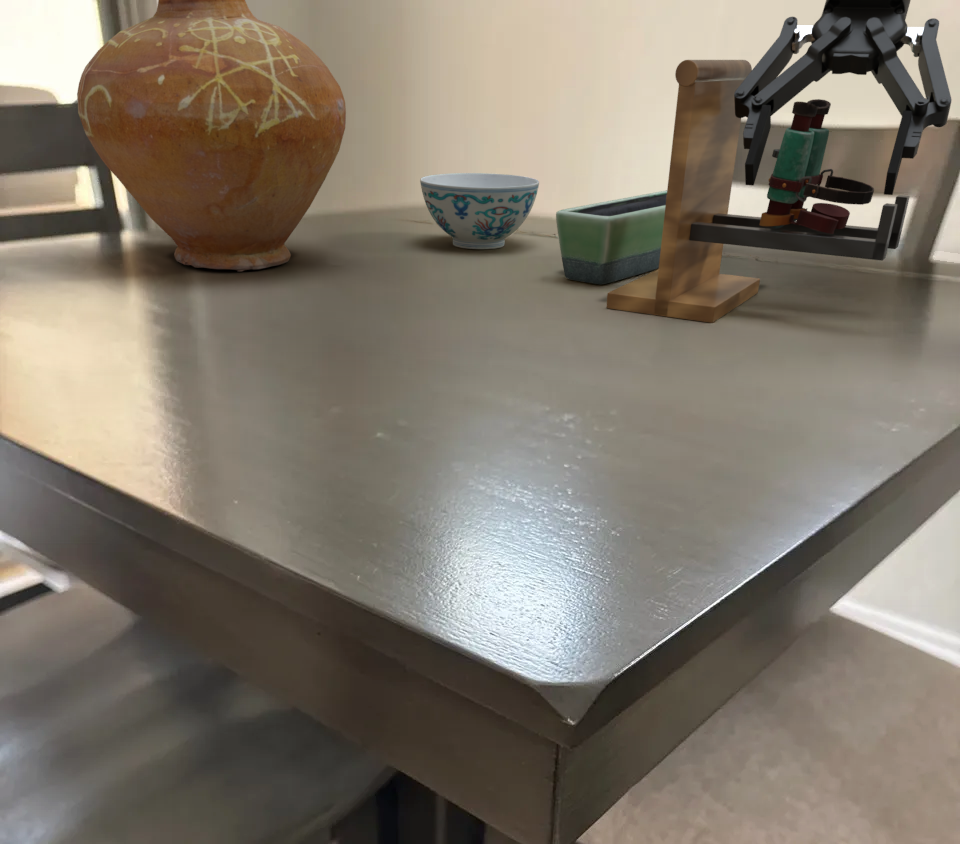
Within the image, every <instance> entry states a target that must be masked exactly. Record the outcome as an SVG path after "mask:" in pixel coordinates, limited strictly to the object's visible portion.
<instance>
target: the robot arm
mask: <svg viewBox="0 0 960 844" xmlns="http://www.w3.org/2000/svg"><path fill="white" fill-rule="evenodd" d="M910 4H911V0H825V3H824V6H823V10H822V13H821V15H820V17H819V18H818V20H817V21H815V23H814V24H811V25H810V24H798V18H797V17H795V16H789V17H787V18H785V20H784V21H783V24H782V28H781V31H780V33H779V36H778V37H777V38H776V40H775V41H774V42H773V44H772V45H770V47H769V49H768V50H767V51H766V52H765V53H764V54H763V56H762V57H761V58H760V59H759V61H758V62H757V63H756V64H755V66H754V67H753V68H752V71H751V72H750V73H749V75H748V76H747V77H746V78H745V80H744V81H743V82H742V83H741V85H740V86H739V87H738V88H737V90H736V91H735V93H734V102H735V116H736V117H737V118H741V119H743V118H745V117H746V118H747V119H746V122H745V125H744V129H743V132H742V142H743V143H742V144H743V149H744V150H748V152H747V156H746V159H745V163H744V180H745V181H744V182H745V186H755V183H756V179H757V176H758V173H759V168H760V165H761V162H762V159H763V155H764V152H765V149H766V145H767V141H768V138H769V135H770V132H771V128H772V116H773V115H774V114H775V113H777V112H778V111H779V110H781V109H782V108H783V107H784V106H785V105H787V104H788V103H789V102H791V100H793V98H795V97H796V96H798V95H799V93H801V92H802V91H803V90H805V89H806V88H807V87H809V85H811V84H812V83H813V82H815V83H817V82H819V81H820V80H822V79H823V78H824V77H826V75H828V74H829V73H830V72H831V75H843V74H849V73H850V74H853V75H857V76H867V73H869V72H871V74H872V76H873V77H874V79H875V80H876V82H877V83H878V84H879V85H882V86H883V88H884V90H885V91H886V93H887V94H888V96H889V98H890V99H891V101H892V103H893V104H894V106H895V108H896V109H897V111H898V112H899V114H900V116H901V119H900V122H899V126H898V129H897V134H896V137H895V141H894V145H893V149H892V151H891V157H890V160H889V164H888V167H887V172H886V177H885V182H884V189H883V195H888V196H893V194H894V190H895V188H896V184H897V180H898V176H899V173H900V169H901V165H902V160H903V159H909V160H910V159H914V158H915V157H916V156H917V154H918V151H919V148H920V143H921V139H922V135H923V132H924V131H925V129H926V128H928V127H930V126H933V127H935V128H942V127H945V126H946V125H947V123H948V119H949V115H950V109H951V105H952V96H951V92H950V88H949V83H948V81H947V75H946V72H945V69H944V65H943V60H942V58H941V53H940V50H939V46H938V42H937V37H938V32H939V27H940V21H939V19H937V18H935V17H934V18H929V19H927V20H926V21H925V23H924V26H908V24H907V22H906V19H907V17H908V16H907V15H908V12H909V9H910V8H909V7H910ZM807 43H811V44H810V45H809V46H808V48H807V50H806V52H805V54H804V55H802V56H801V57H800V58H799V59H798V60H797V59H796V61H795V62H793V64H791V65H790V66H789V67H787V66H788V64H789V62H790V61H791V60H792V57H793V55H797V54H799V52H800V49H802V47H804V45H805V44H807ZM904 45H907V46H909V48H910V51H911V53H912V54H913V55H912V56H913V57H914V58H918V59H917V67H918V71H919V76H920V79H921V83H922V87H923V91H924V95H925V97H924V96H923V94H922V92H921V91H920V89H919V87H918V86H917V84H916V83H915V81H914V79H913V78H912V76H911V75H910V73H909V72H908V70H907V69H906V67H905V65H904V64H903V62H902V61H901V59H900V58H899V56H898V51H900V50H901V49H902V48H903V46H904ZM786 67H787V69H785V68H786Z"/></svg>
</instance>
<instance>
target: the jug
mask: <svg viewBox="0 0 960 844" xmlns="http://www.w3.org/2000/svg"><path fill="white" fill-rule="evenodd" d="M76 99H77V114H78V117H79V119H80V123H81V124H82V127H83V131H84V133H85V135H86V138H87V139H88V140H89V142H90V144H91V145H92V147H93V149H94V150H95V152H96V154H98V156H99V158H100V160H101V161H102V162H103V164H104V165H105V166H106V167H107V169H109V171H110V172H111V173H112V174H113V175H114V176H115V177H116V178H117V179H118V181H119V183H121V185H122V186H123V187H124V188H125V189H126V190H127V192H128V193H129V194H130V195H131V196H132V197H133V199H134V200H135V201H136V202H137V203H138V204H139V206H140V208H142V209H143V210H144V212H145V213H146V214H147V216H148V217H149V218H150V219H151V220H152V221H153V222H154V223H155V224H156V225H157V226H158V227H159V228H160V229H162V230H163V232H165V234H167V235H168V236H169V237H170V238H171V240H172V241H173V242H174V243H175V245H176V246H177V247H176V248H175V250H174V255H173V256H174V259H175V260H176V262H179V263H180V264H183V265H184V266H191V267H193V268H201V269H203V268H204V269H210V270H211V269H212V270H233V271H237V272H244V271H247V270H253V271H255V270H262V269H267V268H270V267H275V266H280V265H283V264H285V263H287V262H290V261H289V260H290V259H291V256H292V254H291V252H290V250H289V248H288V247H287V246H286V245H285V243H286V242H287V241H288V239H289V238H290V236H291V235H292V233H293V232H294V231H295V229H296V228H297V226H298V225H299V224H300V222H301V221H302V219H303V218H304V216H305V215H306V213H307V212H308V210H309V209H310V207H311V205H312V204H313V202H314V200H315V198H316V197H317V195H318V193H319V191H320V189H321V188H322V186H323V184H324V183H325V180H326V178H327V176H328V175H329V172H330V170H331V169H332V167H333V164H334V163H335V160H336V158H337V157H338V154H339V152H340V150H341V145H342V141H343V137H344V134H345V131H346V123H347V122H346V119H347V108H346V107H347V106H346V100H345V96H344V93H343V91H342V88H341V86H340V84H339V82H338V81H337V80H336V77H334V75H333V74H332V72H331V71H330V69H329V68H328V66H327V65H326V63H324V62H323V60H322V59H321V58H320V57H319V56H318V55H317V54H316V53H315V52H314V51H313V50H312V48H310V47H309V46H308V45H307V44H306V43H305V42H303V41H302V40H300V39H299V38H298V37H296V36H295V35H294V34H291V33H290V32H288V31H287V30H285V29H284V28H283V27H280V26H279V25H277V24H273V23H270V22H267V21H263V20H260V19H259V18H257V17H256V16H255V15H254V14H253V13H252V11H251V10H250V8H249V6H248V4H247V1H246V0H158V2H157V7H156V11H155V13H154V14H153V16H152V17H149V18H148V19H145V20H143V21H142V20H141V22H138V23H135V24H134V25H131V26H129V27H127V28H125V29H122V30H120V31H118V32H117V33H116V34H114V36H112V37H111V38H110V39H108V41H106V42H105V43H104V44H103V45H102V46H101V47H100V48H99V49H98V50H97V51H96V52H95V54H94V55H93V56H92V58H90V60H89V61H88V63H87V64H86V65H85V66H84V69H83V71H82V72H81V75H80V79H79V82H78V87H77V93H76Z"/></svg>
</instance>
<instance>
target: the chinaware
mask: <svg viewBox="0 0 960 844" xmlns="http://www.w3.org/2000/svg"><path fill="white" fill-rule="evenodd" d="M419 182H420V187H421V188H420V189H421V192H422V196H423V200H424V203H425V206H426V208H427V211H428V213H429V214H430V216H431V218H432V219H433V220H434V222H435V223H436V224H437V225H438V227H439V228H440V229H441V230H442V231H444V232H445V233H446V234H447V235H448V236H450V237H451V238H452V245H453V246H454V247H457V248H461V249H465V250H466V249H467V250H495V249H500V248H503V247H504V246H505V242H506V238H508V237H509V236H511V235H512V234H514V233H515V232H516V231H517V230H518V229H519V228H520V227H521V226H522V225H523V224H524V222H525V221H526V220H527V219H528V217H529V215H530V213H531V211H532V209H533V206H534V204H535V201H536V198H537V194H538V190H539V185H540V180H538V179H536V178H533V177H529V176H524V175H515V174H505V173H504V174H503V173H487V172H486V173H483V172H482V173H481V172H457V173H456V172H454V173H439V174H432V175H431V174H430V175H426V176H423V177H421V178H420V180H419Z"/></svg>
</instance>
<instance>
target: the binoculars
mask: <svg viewBox="0 0 960 844" xmlns="http://www.w3.org/2000/svg"><path fill="white" fill-rule="evenodd" d="M831 104H832V103H831V102H830V101H829V100H826V99H820V98H818V99H810V100H808V101H807V102H806V101H794V102H793V105H792V106H793V107H792V109H791V110H792V111H791V114H793V117H792V122H791V126H789V127H787V128H785V131H784V134H783V137H782V140H781V144H780V146H779V147H780V148H775V149H773V150H772V154H771V157H772V158H775V159H776V161H775V164H774V167H773V172H772V173H771V175H770V177H769V178H768V189H767V194H766V199H767V200H769V201H768V205H767V209H766V211H765V212H762V213H761V216H760V217H761V220H760V224H759V225H760V226H770V227H772V228H781V227H783V226H784V225H788V224H791V223H793V224H796V225H802V226H805V227H808V228H811V229H814V230H818V231H821V232H825V233H830V234H833V233H834V230H835V229H842V228H844V227H845V226H846V225H847V223H848V221H849V218H850V214H851V212H850V211H849V210H848V209H847V208H845V207H843V206H841V205H838V204H844V205H859V206H862V205H867V204H870V203H871V201H872V199H873V196H874V192H875V188H874V187H873V186H872V185H870V184H868V183H866V182H862V181H859V180H856V179H851V178H848V177H847V178H846V177H843V176H836V175H833V174H834V169H832V168H828V169H823V170H822V166H823V161H824V157H825V153H826V149H827V144H828V139H829V134H830V130H829V128H825V127H823V123H824V120H825V117H826V115H829V113H830V112H829V111H830V109H831ZM821 170H822V171H821ZM829 172H830V174H829V175H827V176H826V177H827V178H826V180H825V185H824V186H821V184H822V182H823V179H824V174H825V173H829ZM807 198H813V199H817V200H821V201H826V202H815V203H813V204H812V206H811V210H808V208H805V207H804V204H805V202H806V201H807ZM828 202H830V203H828ZM833 203H834V204H833ZM794 221H796V222H794Z"/></svg>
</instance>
